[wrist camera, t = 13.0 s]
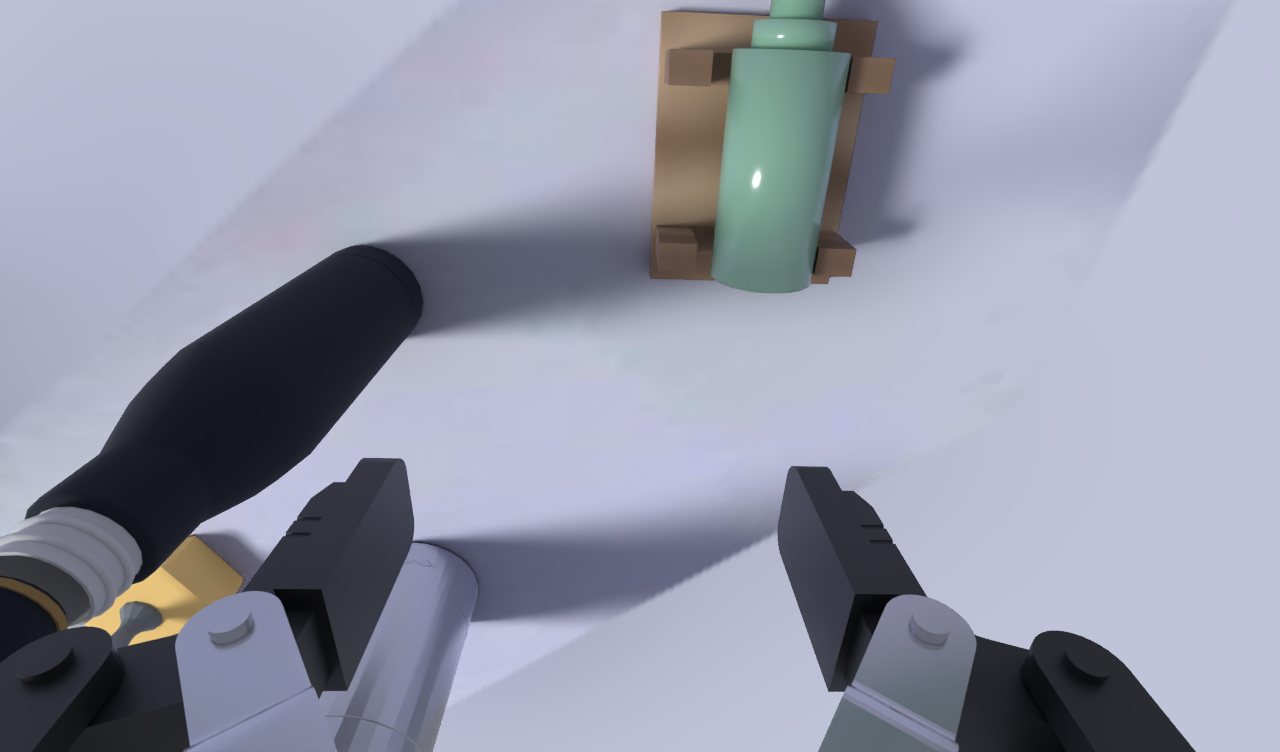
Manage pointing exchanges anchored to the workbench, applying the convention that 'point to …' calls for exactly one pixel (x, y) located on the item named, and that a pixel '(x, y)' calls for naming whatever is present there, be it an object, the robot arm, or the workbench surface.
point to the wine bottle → (205, 439)
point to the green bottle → (778, 149)
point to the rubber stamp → (169, 595)
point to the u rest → (697, 131)
